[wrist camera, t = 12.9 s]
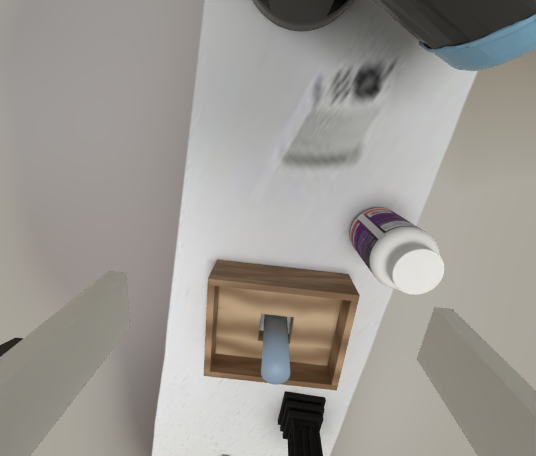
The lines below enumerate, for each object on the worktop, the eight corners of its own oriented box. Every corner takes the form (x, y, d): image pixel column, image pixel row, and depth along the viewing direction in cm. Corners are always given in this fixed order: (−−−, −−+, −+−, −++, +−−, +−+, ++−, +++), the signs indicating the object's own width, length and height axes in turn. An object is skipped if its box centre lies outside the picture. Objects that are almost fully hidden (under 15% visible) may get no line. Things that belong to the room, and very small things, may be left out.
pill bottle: (371, 263, 46) (412, 318, 32) (337, 232, 44) (364, 275, 30) (411, 229, 43) (472, 271, 30) (376, 195, 42) (425, 223, 28)
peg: (265, 307, 49) (262, 359, 37) (288, 310, 49) (292, 363, 37) (263, 326, 50) (259, 382, 39) (285, 329, 50) (288, 385, 39)
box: (217, 259, 46) (208, 278, 40) (348, 274, 46) (359, 295, 40) (212, 347, 52) (203, 375, 46) (329, 360, 52) (336, 390, 46)
